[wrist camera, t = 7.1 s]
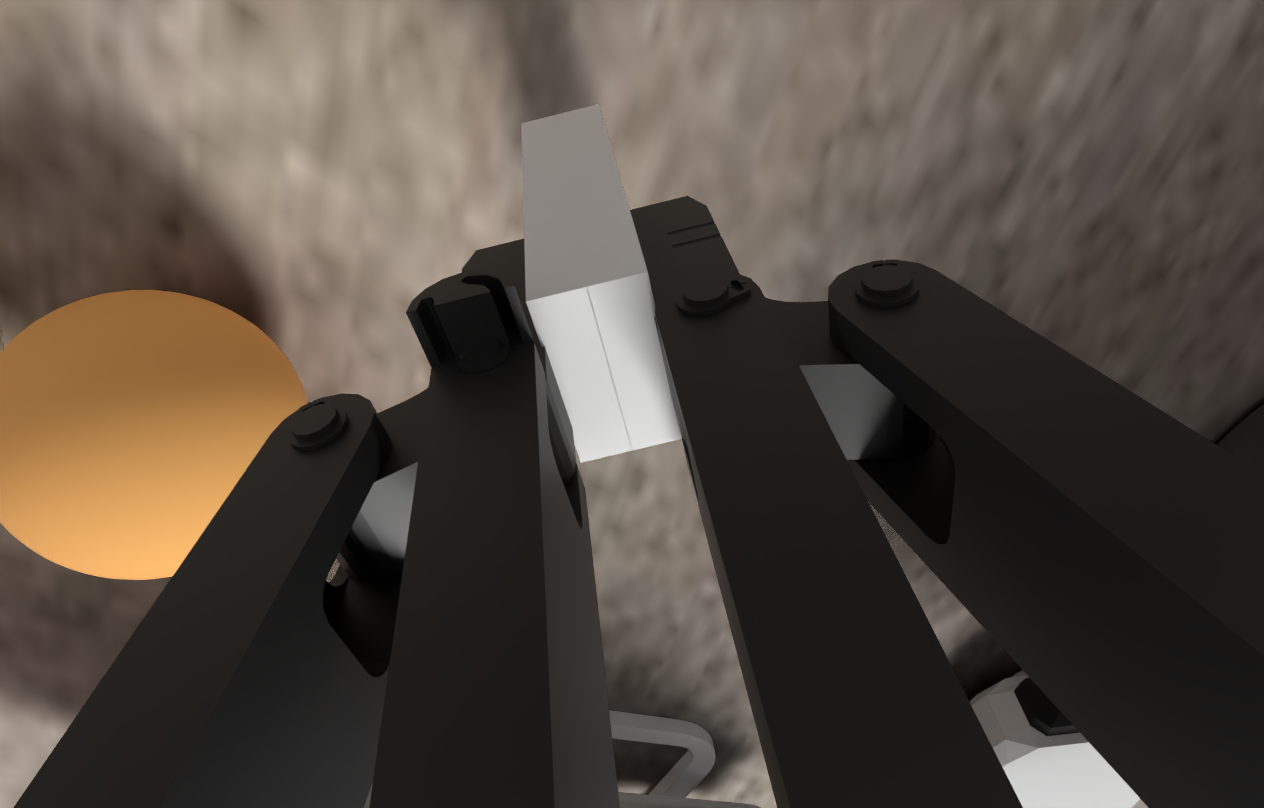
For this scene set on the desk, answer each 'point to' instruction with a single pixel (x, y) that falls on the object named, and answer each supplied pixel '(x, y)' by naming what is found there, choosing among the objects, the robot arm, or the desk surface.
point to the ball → (133, 427)
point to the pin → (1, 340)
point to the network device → (669, 795)
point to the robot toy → (1046, 750)
